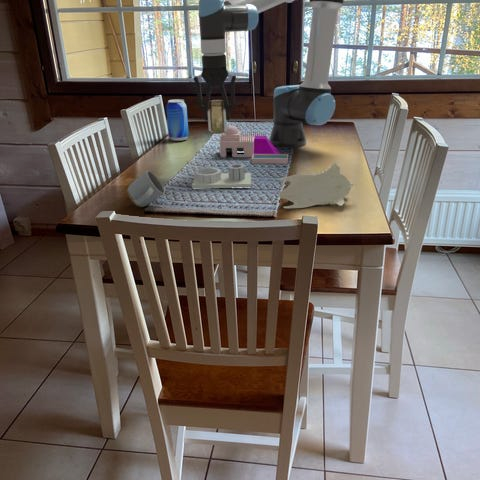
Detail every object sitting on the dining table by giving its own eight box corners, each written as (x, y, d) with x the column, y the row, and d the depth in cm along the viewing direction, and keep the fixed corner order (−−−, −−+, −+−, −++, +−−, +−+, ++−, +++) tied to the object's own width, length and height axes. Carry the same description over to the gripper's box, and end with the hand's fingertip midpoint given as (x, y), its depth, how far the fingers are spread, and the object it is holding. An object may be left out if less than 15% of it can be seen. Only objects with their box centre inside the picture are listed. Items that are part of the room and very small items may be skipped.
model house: (217, 164, 166) (216, 134, 161) (223, 151, 181) (222, 123, 177) (287, 164, 164) (288, 134, 159) (287, 151, 179) (288, 123, 174)
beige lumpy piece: (283, 215, 123) (275, 172, 124) (279, 219, 135) (273, 180, 136) (364, 202, 123) (356, 159, 124) (354, 207, 135) (347, 167, 135)
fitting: (225, 130, 155) (223, 99, 151) (224, 133, 151) (222, 102, 147) (211, 130, 155) (209, 100, 151) (210, 134, 151) (208, 102, 147)
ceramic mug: (144, 209, 132) (130, 186, 132) (168, 193, 131) (153, 170, 131) (131, 210, 122) (115, 185, 122) (156, 193, 121) (140, 168, 121)
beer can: (165, 140, 198) (161, 101, 191) (175, 135, 205) (172, 98, 198) (183, 141, 195) (179, 102, 188) (192, 137, 202) (189, 99, 195)
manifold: (251, 177, 151) (250, 160, 148) (251, 188, 141) (250, 171, 138) (196, 178, 151) (194, 161, 149) (192, 189, 141) (191, 172, 139)
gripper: (242, 52, 146) (244, 126, 156) (187, 54, 146) (192, 128, 157) (241, 54, 139) (244, 132, 149) (184, 56, 139) (190, 133, 150)
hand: (217, 130), depth 153 cm, fingers closed on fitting, 4 cm apart
